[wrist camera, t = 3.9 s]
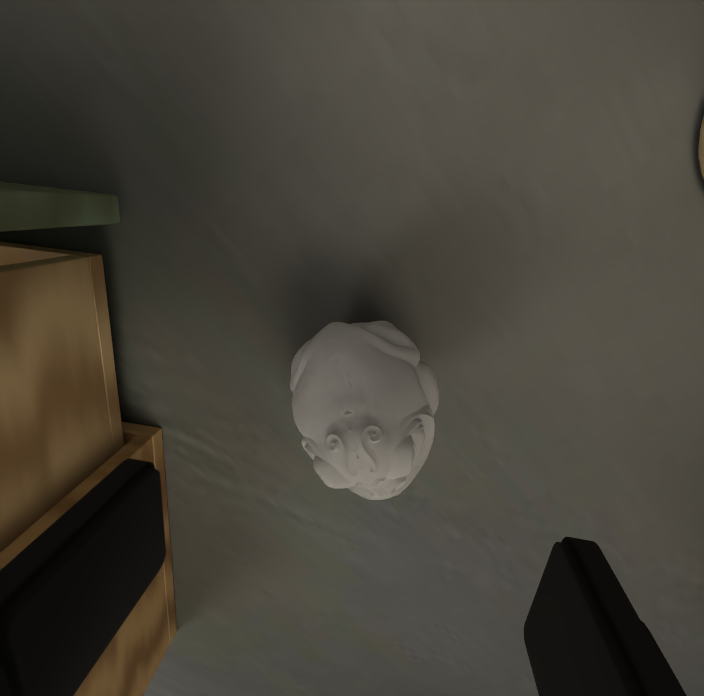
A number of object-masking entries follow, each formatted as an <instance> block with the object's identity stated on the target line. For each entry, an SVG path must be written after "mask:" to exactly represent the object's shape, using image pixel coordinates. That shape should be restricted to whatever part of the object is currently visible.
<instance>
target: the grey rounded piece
mask: <svg viewBox="0 0 704 696" xmlns="http://www.w3.org/2000/svg"><path fill="white" fill-rule="evenodd" d="M290 388H291V390H292V392H293V398H292V411H293V417H294V421H295V424H296V426H297V428H298V430H299V431H300V433H301V434H302V435H303V438H302V442H301V443H302V445H303V448H304V449H305V450H306V451H307V453H308V454H309V456H310V457H311V458H312V459H313V460H314V461H313V467H314V469H315V471H316V473H317V474H318V475H319V477H320V478H321V479H322V480H323V482H324V483H325V484H326V485H328V486H329V487H331V488H335V489H339V488H349V489H350V490H351V491H352V492H355V493H356V494H358V495H360V496H361V497H364V498H367V499H369V500H385V499H388V498H391V497H393V496H396V495H398V494H400V493H401V492H402V491H403V490H404V489H406V488H407V486H408V485H409V484H410V483H411V482H412V481H413V479H414V478H415V477H416V475H417V474H418V472H419V471H420V469H421V468H422V466H423V464H424V463H425V461H426V459H427V457H428V455H429V452H430V448H431V446H432V443H433V439H434V429H435V426H434V414H435V412H436V410H437V408H438V403H439V391H438V385H437V382H436V379H435V376H434V374H433V370H432V369H431V367H430V366H429V365H428V364H426V363H424V362H421V361H420V353H419V350H418V349H417V347H416V345H415V344H414V343H413V341H412V340H411V339H410V338H409V337H407V336H406V335H405V334H404V333H402V332H400V331H398V329H397V328H396V327H395V326H394V325H393V324H391V323H390V322H387V321H374V322H369V323H363V322H362V323H352V324H347V323H343V322H331V323H330V324H328V325H327V326H325V327H324V328H323V329H322V330H321V331H319V332H318V333H317V334H316V335H315V336H314V337H313V339H310V340H308V341H307V342H306V343H305V344H304V345H303V346H302V347H301V348H300V349H299V351H298V352H297V353H296V355H295V357H294V359H293V362H292V365H291V380H290Z"/></svg>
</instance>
